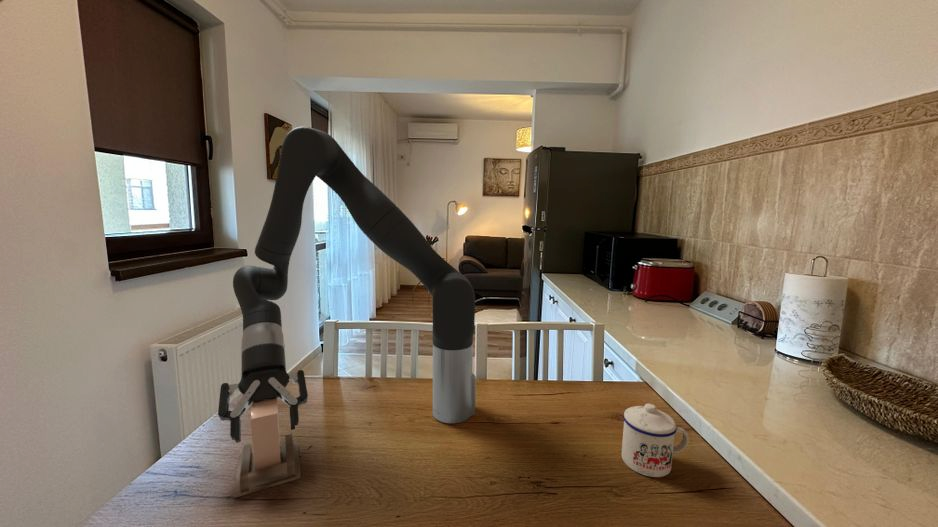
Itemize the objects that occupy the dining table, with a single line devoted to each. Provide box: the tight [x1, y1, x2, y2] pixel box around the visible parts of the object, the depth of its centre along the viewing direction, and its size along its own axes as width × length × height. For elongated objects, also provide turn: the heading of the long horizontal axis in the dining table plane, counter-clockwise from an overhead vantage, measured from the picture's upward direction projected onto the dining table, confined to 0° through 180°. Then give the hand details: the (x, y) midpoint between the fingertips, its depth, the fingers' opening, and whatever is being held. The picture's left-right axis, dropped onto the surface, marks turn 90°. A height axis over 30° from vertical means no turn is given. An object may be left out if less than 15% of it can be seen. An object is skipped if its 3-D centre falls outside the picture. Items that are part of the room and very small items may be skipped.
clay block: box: [250, 398, 281, 471], centre depth 66 cm, size 4×6×11 cm, turn 28°
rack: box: [233, 433, 302, 498], centre depth 67 cm, size 10×10×3 cm
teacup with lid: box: [621, 403, 690, 478], centre depth 69 cm, size 12×9×12 cm
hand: (266, 434), depth 65 cm, fingers open, 8 cm apart
